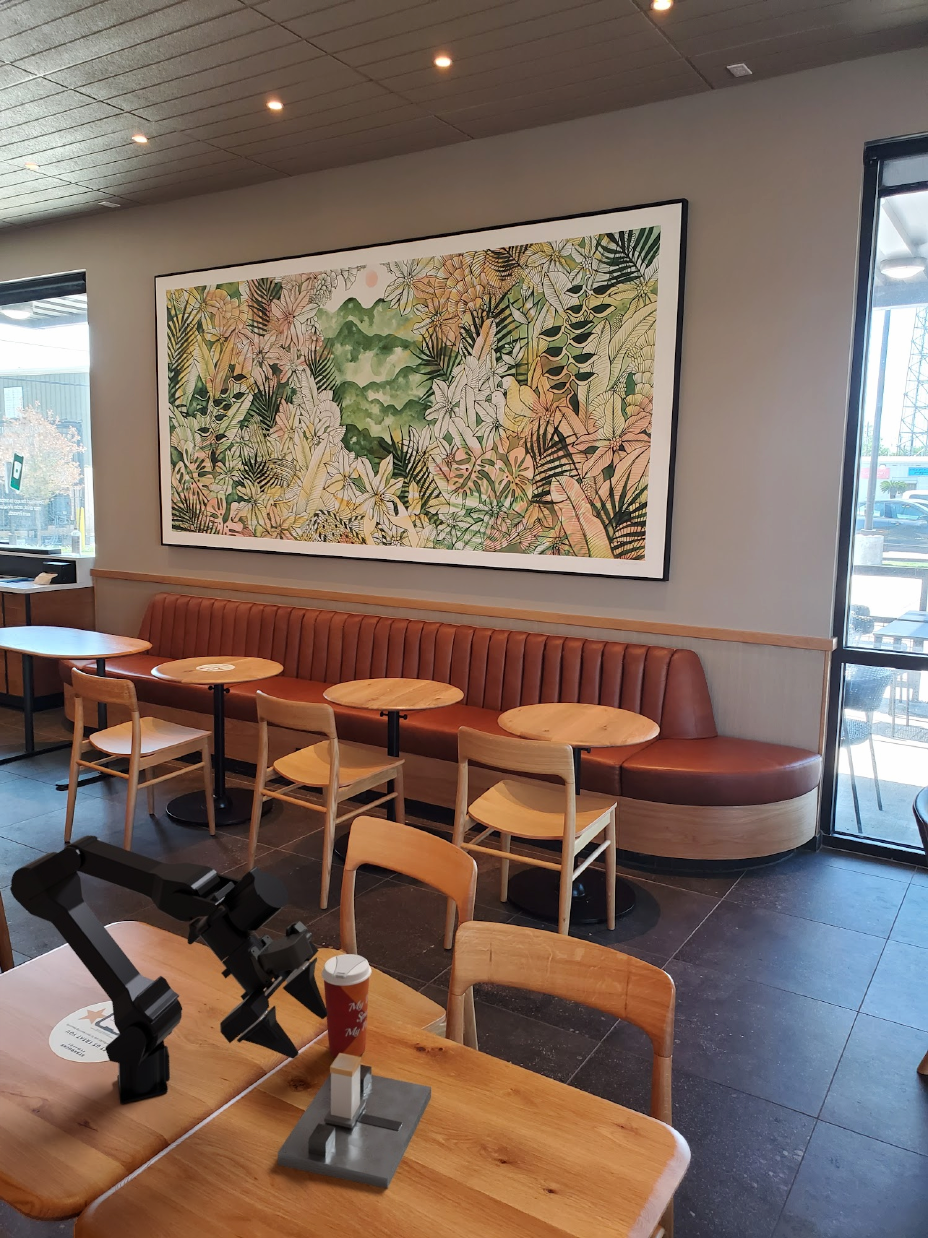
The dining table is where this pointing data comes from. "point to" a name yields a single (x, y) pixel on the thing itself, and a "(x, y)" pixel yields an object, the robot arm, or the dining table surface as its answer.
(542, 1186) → the dining table surface
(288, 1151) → the plate
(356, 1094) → the handle
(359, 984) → the paper cup
